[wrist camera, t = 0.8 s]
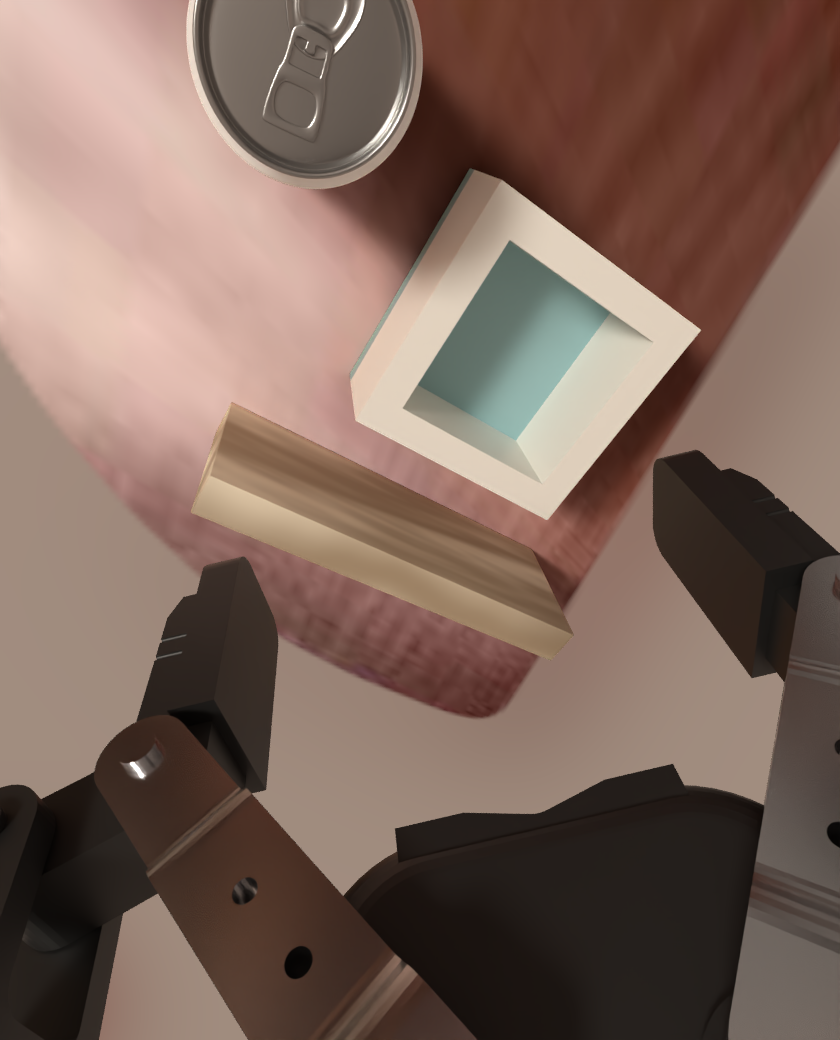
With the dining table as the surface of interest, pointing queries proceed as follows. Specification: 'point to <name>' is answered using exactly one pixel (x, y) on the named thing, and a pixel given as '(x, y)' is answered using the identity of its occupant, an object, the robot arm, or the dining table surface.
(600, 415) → the socket block
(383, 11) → the can
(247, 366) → the dining table surface
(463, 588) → the stop board
